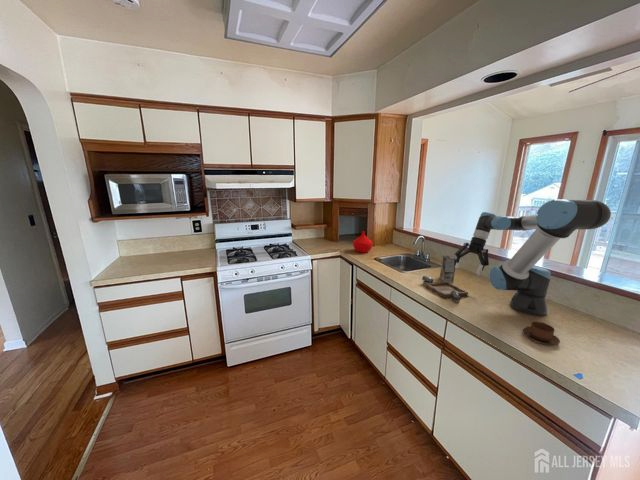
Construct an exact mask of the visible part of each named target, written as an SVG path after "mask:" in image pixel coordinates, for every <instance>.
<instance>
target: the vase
mask: <svg viewBox="0 0 640 480" xmlns="http://www.w3.org/2000/svg"><path fill="white" fill-rule="evenodd" d="M373 244H374V243H373V240H371V239H370V238H369V237H368V236H366V231H365V230H363V231H361V234H360V236H358V237H357V238H355V239H354V240H353V242H352V246H353V248H354V250H355V251H356V252H357V253H363V254H364V253H369V252H370V251H371V249H372V248H373V246H374V245H373Z"/></svg>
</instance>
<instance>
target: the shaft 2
mask: <svg viewBox="0 0 640 480" xmlns="http://www.w3.org/2000/svg"><path fill="white" fill-rule="evenodd" d="M451 295H452V296H453V297H452V298H450V300H451V302H452V303H453V304H460V300H462V297H461V296H460V295H459V294H458V293H457V292H456V291H451Z"/></svg>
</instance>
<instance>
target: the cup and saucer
mask: <svg viewBox="0 0 640 480" xmlns="http://www.w3.org/2000/svg"><path fill="white" fill-rule="evenodd" d="M554 333H555V328H554V327H553V326H551V325H549V324H547V323H544V322H540V321H531V323H530V325H527V326H524V328H522V334H523V335H524V336H525V337H527V339H529V340H531V341H533V342H536V343H537V344H541V345H544V346H557V345H559V344H560V343H561V340H560V338H559V337H558V336H556V335H554Z"/></svg>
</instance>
